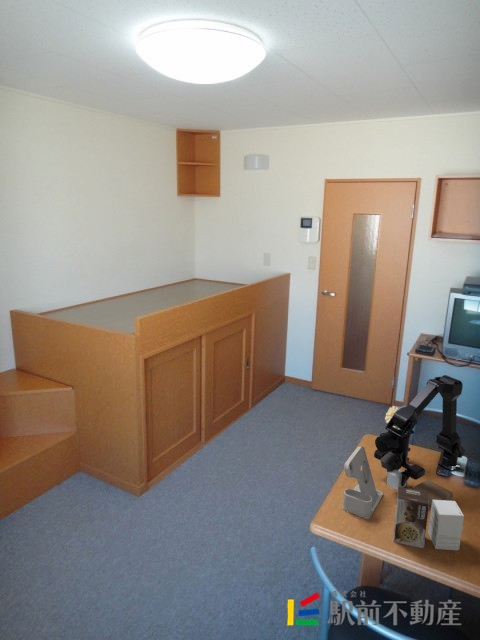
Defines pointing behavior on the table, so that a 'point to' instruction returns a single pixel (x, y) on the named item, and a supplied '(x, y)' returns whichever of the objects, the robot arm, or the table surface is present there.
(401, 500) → the coffee box
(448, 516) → the supplement box
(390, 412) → the flower in vase
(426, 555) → the table surface
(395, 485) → the grey-blue block
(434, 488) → the brown block
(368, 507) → the phone holder
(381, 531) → the table surface
